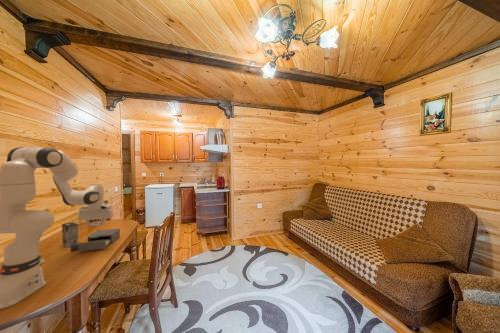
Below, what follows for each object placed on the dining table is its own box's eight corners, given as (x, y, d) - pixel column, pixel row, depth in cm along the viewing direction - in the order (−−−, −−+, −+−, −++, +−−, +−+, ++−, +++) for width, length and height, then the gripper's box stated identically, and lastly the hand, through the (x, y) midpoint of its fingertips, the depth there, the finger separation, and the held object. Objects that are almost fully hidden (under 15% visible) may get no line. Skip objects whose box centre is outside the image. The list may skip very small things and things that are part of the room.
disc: (99, 226, 135) (99, 223, 135) (88, 227, 133) (88, 224, 133) (104, 223, 142) (104, 221, 142) (93, 224, 140) (93, 221, 140)
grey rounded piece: (75, 251, 132) (75, 245, 132) (69, 251, 131) (69, 246, 131) (79, 248, 136) (79, 243, 136) (72, 249, 135) (72, 243, 135)
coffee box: (62, 245, 141) (61, 224, 141) (73, 242, 147) (72, 221, 146) (67, 248, 137) (66, 226, 137) (78, 244, 143) (78, 223, 142)
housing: (111, 243, 144) (111, 234, 144) (87, 246, 140) (87, 236, 140) (119, 236, 158) (119, 228, 158) (97, 238, 154) (97, 230, 154)
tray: (105, 248, 134) (105, 241, 134) (78, 251, 130) (78, 243, 130) (113, 240, 147) (113, 234, 147) (89, 242, 143) (89, 235, 143)
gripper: (76, 208, 131) (76, 227, 132) (110, 206, 137) (110, 225, 137) (81, 206, 137) (82, 224, 138) (113, 204, 143) (114, 222, 143)
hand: (96, 225), depth 137 cm, fingers closed on disc, 7 cm apart
